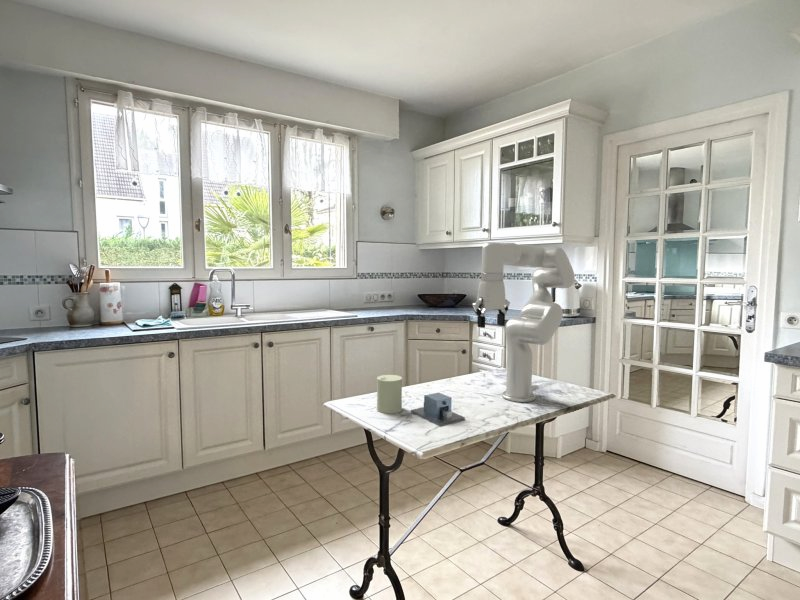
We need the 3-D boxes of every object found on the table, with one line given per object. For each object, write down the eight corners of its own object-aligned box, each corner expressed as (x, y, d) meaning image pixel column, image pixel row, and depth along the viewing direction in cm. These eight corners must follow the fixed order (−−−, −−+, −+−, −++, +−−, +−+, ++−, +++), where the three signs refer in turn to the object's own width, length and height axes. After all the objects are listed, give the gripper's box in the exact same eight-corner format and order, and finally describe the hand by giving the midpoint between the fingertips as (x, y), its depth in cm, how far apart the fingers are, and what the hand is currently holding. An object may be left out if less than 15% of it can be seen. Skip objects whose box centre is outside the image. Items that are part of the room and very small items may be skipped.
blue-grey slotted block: (438, 408, 160) (438, 392, 159) (452, 414, 154) (452, 397, 153) (424, 412, 156) (424, 395, 156) (437, 418, 150) (437, 400, 150)
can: (371, 407, 163) (371, 375, 162) (392, 403, 168) (392, 372, 167) (385, 415, 156) (385, 381, 155) (407, 410, 161) (407, 377, 160)
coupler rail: (435, 406, 165) (435, 398, 165) (464, 419, 152) (464, 410, 151) (410, 412, 159) (410, 403, 158) (439, 426, 146) (439, 416, 145)
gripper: (501, 277, 166) (500, 323, 167) (466, 278, 156) (465, 326, 158) (517, 278, 160) (516, 325, 161) (481, 278, 150) (480, 329, 152)
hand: (491, 326), depth 160 cm, fingers open, 9 cm apart
